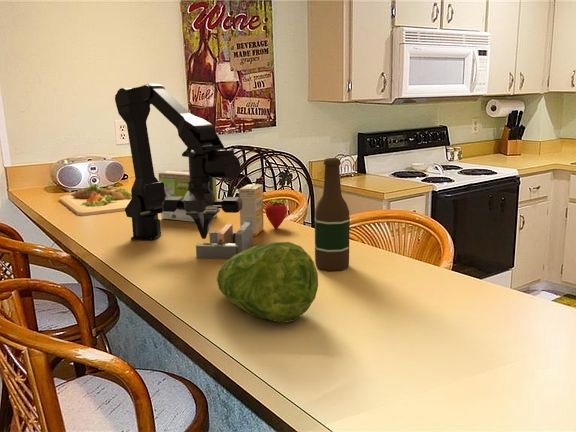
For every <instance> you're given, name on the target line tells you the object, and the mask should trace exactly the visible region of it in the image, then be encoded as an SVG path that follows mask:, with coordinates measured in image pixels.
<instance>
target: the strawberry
mask: <svg viewBox="0 0 576 432" xmlns="http://www.w3.org/2000/svg"><path fill="white" fill-rule="evenodd" d="M277 196H279V194H277ZM285 202H287V200H285V199H284V200H282V199H280V200H278V199H270V200H268V201H267V204H266V205H265V208H264V212H265V215H266V218H267V219H268V221H269V223H270V224H271V226H272V227H273V229H278V228H279V227H280V226H281V224H283V222H284V220H285V219H286V217H287V213H288V207H287V206H286V204H285Z"/></svg>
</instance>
